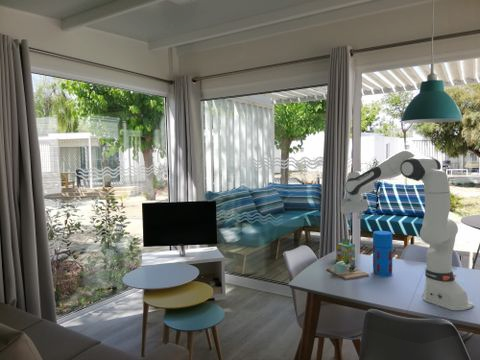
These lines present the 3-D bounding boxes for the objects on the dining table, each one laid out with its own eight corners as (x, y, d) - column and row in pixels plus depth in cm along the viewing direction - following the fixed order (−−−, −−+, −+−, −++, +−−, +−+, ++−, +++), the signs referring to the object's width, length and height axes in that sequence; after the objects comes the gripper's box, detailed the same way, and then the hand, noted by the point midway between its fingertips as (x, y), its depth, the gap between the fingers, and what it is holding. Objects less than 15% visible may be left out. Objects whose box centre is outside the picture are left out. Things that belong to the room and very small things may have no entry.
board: (368, 276, 220) (368, 273, 220) (344, 280, 215) (344, 277, 215) (348, 266, 239) (348, 264, 239) (325, 270, 233) (325, 267, 233)
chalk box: (335, 261, 252) (335, 239, 251) (343, 258, 258) (343, 237, 257) (348, 263, 245) (348, 241, 244) (355, 260, 251) (355, 239, 250)
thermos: (389, 270, 228) (389, 230, 227) (394, 276, 218) (394, 234, 216) (371, 270, 230) (370, 230, 228) (375, 276, 219) (375, 234, 217)
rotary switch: (340, 273, 221) (340, 263, 221) (333, 271, 226) (333, 261, 226) (347, 271, 224) (347, 262, 224) (340, 269, 229) (340, 259, 228)
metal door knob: (358, 270, 227) (358, 259, 226) (351, 271, 225) (351, 260, 225) (353, 268, 232) (353, 257, 231) (346, 269, 230) (346, 258, 229)
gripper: (345, 199, 225) (345, 222, 226) (369, 196, 235) (369, 218, 236) (338, 198, 230) (338, 220, 231) (361, 195, 240) (361, 216, 241)
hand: (354, 219), depth 234 cm, fingers open, 8 cm apart
